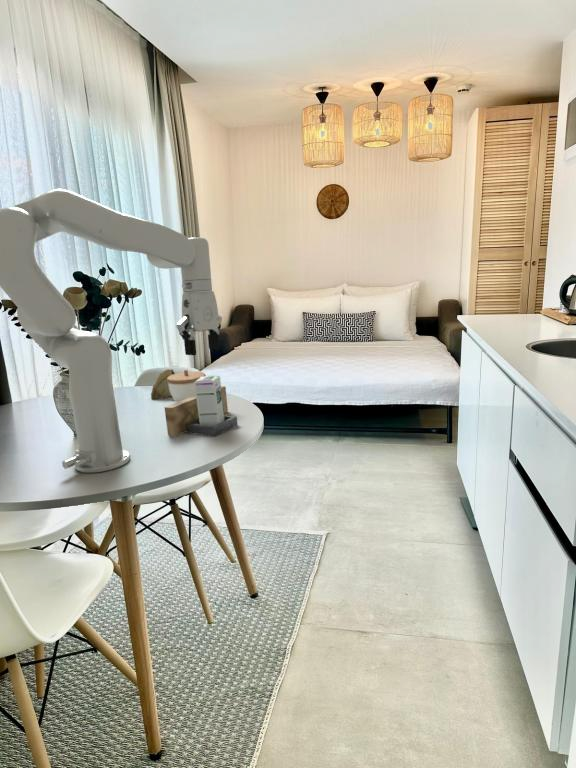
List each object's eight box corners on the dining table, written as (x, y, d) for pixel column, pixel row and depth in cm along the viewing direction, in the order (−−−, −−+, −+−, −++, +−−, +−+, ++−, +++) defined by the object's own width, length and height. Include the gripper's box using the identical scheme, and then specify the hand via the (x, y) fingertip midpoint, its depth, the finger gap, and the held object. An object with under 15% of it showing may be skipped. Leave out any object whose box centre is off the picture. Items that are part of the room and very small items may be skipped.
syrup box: (220, 431, 142) (215, 380, 139) (199, 432, 143) (193, 380, 140) (225, 425, 148) (220, 375, 145) (205, 425, 149) (200, 375, 145)
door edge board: (175, 436, 141) (172, 408, 139) (168, 435, 142) (164, 407, 140) (228, 411, 161) (226, 386, 159) (221, 410, 162) (219, 385, 160)
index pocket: (215, 436, 139) (214, 427, 138) (186, 432, 144) (185, 423, 143) (237, 425, 147) (236, 416, 147) (209, 421, 152) (208, 413, 152)
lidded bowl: (200, 407, 168) (196, 374, 165) (163, 407, 170) (159, 374, 168) (213, 397, 180) (210, 365, 177) (179, 397, 182) (175, 366, 180)
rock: (144, 395, 179) (171, 390, 177) (145, 372, 183) (171, 367, 181) (158, 406, 189) (184, 401, 187) (158, 384, 192) (184, 380, 191)
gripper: (186, 288, 127) (192, 358, 131) (228, 284, 142) (233, 347, 145) (163, 289, 131) (170, 356, 135) (207, 285, 145) (211, 346, 149)
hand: (202, 351), depth 140 cm, fingers open, 9 cm apart
